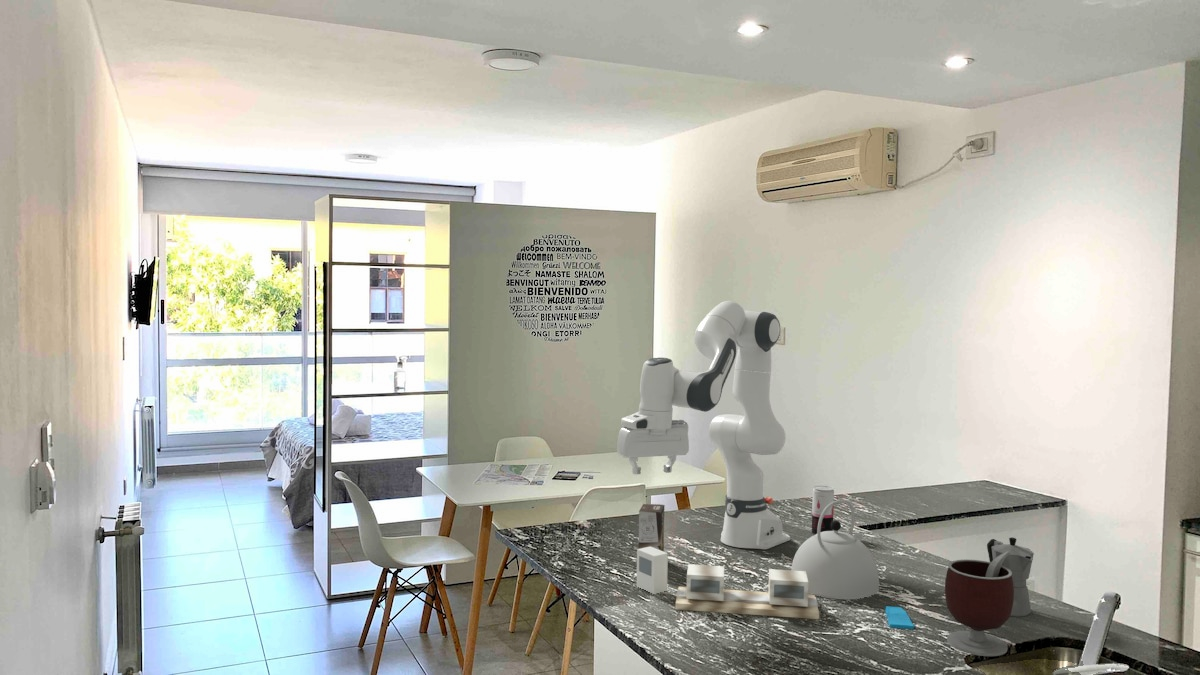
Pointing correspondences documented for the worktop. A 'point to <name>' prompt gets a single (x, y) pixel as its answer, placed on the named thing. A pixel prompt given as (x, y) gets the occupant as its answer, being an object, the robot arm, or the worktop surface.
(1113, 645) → the worktop surface
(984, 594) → the mate gourd
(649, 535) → the coffee box
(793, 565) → the kettle
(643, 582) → the block
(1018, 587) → the coffeepot
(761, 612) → the rail board
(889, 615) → the sponge
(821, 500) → the beverage can
